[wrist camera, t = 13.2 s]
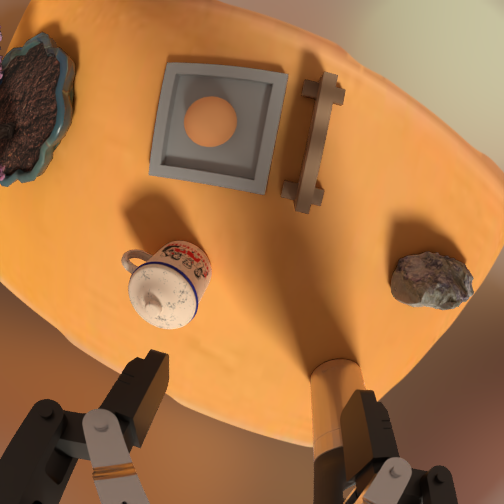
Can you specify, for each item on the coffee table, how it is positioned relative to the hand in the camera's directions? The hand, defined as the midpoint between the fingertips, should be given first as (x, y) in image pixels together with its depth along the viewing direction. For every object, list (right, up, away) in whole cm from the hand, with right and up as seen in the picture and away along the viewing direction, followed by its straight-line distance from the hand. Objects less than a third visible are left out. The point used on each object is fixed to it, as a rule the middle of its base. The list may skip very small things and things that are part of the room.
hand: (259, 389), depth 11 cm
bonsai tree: (-39, +28, +24) cm, 53 cm away
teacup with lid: (-11, +4, +30) cm, 32 cm away
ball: (-5, +20, +19) cm, 28 cm away
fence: (+7, +19, +22) cm, 30 cm away
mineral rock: (+26, +2, +27) cm, 37 cm away
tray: (-5, +22, +22) cm, 31 cm away
